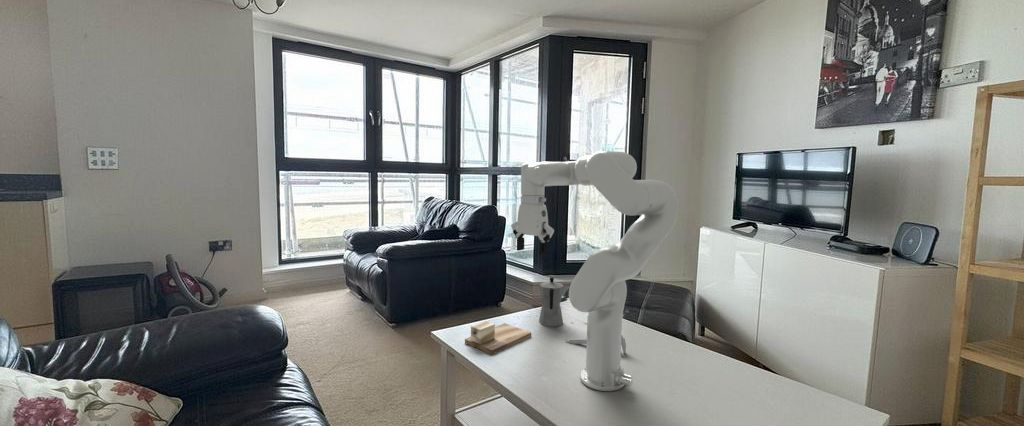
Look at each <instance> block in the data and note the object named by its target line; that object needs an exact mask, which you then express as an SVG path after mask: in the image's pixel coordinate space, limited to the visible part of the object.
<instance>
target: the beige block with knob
mask: <svg viewBox="0 0 1024 426" xmlns="http://www.w3.org/2000/svg"><path fill="white" fill-rule="evenodd" d="M495 327H496V325H495V323H493V322H490V321H487V320H484V321H481V322H479V323H475V324H473V325H471V326H470V337H471V341H473V342H476V343H478V344H482V343H484V342H487V341H489V340H491V339H494V338H495Z"/></svg>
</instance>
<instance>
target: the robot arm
mask: <svg viewBox="0 0 1024 426" xmlns="http://www.w3.org/2000/svg"><path fill="white" fill-rule="evenodd" d="M635 159H636V158H634V157H633V155H631V154H629V153H628V152H624V151H616V150H615V151H613V150H611V151H610V150H599V151H597V152H594V153H593V154H587V155H583V156H580V157H579V158H578V159H576V160H574V161H573V160H572V161H539V162H532V161H531V162H524V163H522V165H521V168H520V204H519V206H518V212H517V221H516V222H514V223H512V224H511V225H510V226H511V229H512V233H513V234H514V238H515V239H516V251H519V252H520V251H522V250H524V249H525V237H524V236H525V235H526V236H535V237H538V239H539V240H540V242H539V249H538V251H539V255H541V256H542V255H546V254H548V242H550V240H551V239H552V238H553V234H554V233H555V229H554V228H553V227H551V226H550V224H549V216H548V210H547V206H546V204H545V203H546V202H547V198H546V197H545V187H553V186H554V187H555V186H556V187H557V186H577V185H581V186H593V187H595V189H596V190H597V191H598V192H599V193H600V194H601V195H602V196H603V197H604V198H605V200H607V201H608V202H609V203H610V205H611V206H612V207H613V208H614V209H615V210H617V211H618V212H620V213H621V214H623V215H625V216H629V217H631V216H640V217H639V218H637V220H635V221H633V223H632V224H631V225H630V226H629V228H628V229H627V231H626V233H625V234H624V235H623V236H622V238H621V239H620V240H619V241H618V242H617V243H615V244H612V245H606V246H604V247H603V246H602V247H600V248H597V249H596V250H594V251H593V252H592V253H590V255H589V256H588V257H587V259H586V260H585V261H584V263H583V264H582V266H581V267H580V269H579V270H578V272H577V273H576V275H575V276H574V278H573V279H572V281H571V283H570V285H569V290H568V298H569V303H571V306H572V307H573V308H574V309H575V310H577V311H578V312H580V313H588V315H587V322H586V323H587V324H586V339H587V344H586V353H585V354H586V355H585V356H586V358H585V359H586V360H585V368H584V369H582V370H581V372H580V374H579V378H580V381H581V382H582V383H583V385H584V386H587V387H588V388H590V389H594V390H597V391H603V392H613V391H617V390H620V389H622V388H623V387H624V386H626V387H629V388H632V386H633V376H632V375H630V374H626V373H625V372H624V370H625V369H624V368H625V367H624V366H621V359H622V357H621V356H622V345H621V335H622V329H623V316H624V315H623V314H624V308H625V303H626V299H627V294H628V291H627V289H628V287H627V283H626V281H628V280H631V279H633V278H635V277H637V276H638V275H639V273H640V272H641V271H642V269H643V268H644V267H645V265H646V264H647V263H648V261H649V260H650V259H651V257H652V256H653V255H654V254H655V252H656V251H657V249H658V248H659V247H660V245H661V244H662V243H663V242H664V240H665V239H666V238H667V237H668V235H669V234H670V232H671V230H673V228H674V226H675V224H676V222H677V219H678V216H679V211H680V210H679V208H680V207H679V200H678V197H677V194H676V192H675V190H674V189H673V188H672V186H671V185H669V184H668V183H667V182H665V181H662V180H658V179H634V177H635V176H636V173H637V169H638V166H637V160H635ZM622 336H623V335H622Z"/></svg>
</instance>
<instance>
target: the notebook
mask: <svg viewBox="0 0 1024 426" xmlns="http://www.w3.org/2000/svg"><path fill="white" fill-rule="evenodd" d="M531 337H532V332H531V331H528V330H525V329H523V328H519V327H517V326H514V325H511V324H508V323H505V322H504V323H502V324H499V325H497V326H495V338H494V339H491V340H489V341H487V342H484V343H482V344H478V343H476V342H473V341H471V336H469V337H466V338H464V344H466V343H467V344H466V345H468V344H469V345H468V346H470V345H471V346H470V347H473V346H474V347H473V348H475V347H476V348H475V349H477V348H478V350H480V351H481V352H485V353H486V354H489V355H491V356H492V355H495V354H497V353H499V352H501V351H503V350H505V349H508V348H511V347H512V346H514V345H516V344H518V343H521V342H523V341H525V340H527V339H529V338H531Z"/></svg>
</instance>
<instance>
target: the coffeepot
mask: <svg viewBox="0 0 1024 426" xmlns="http://www.w3.org/2000/svg"><path fill="white" fill-rule="evenodd" d="M554 279H555V278H554V277H553V276H552V277H549V281H545V282H544V281H543V282H542V283H539V292H540V299H541V302H542V305H541V309H540V312H539V313H540V315H539V320H538V322H539V323H540V325H542V326H545V327H559V326H562V324H563V322H564V321H563V320H564V319H563V314H562V309H561V308H562V307H561V302H562V298H563V294H564V293H563V292H564V287H565V285H564V284H562V283H561V282H556V281H554Z"/></svg>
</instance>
